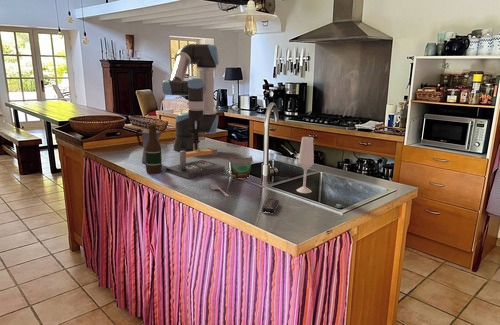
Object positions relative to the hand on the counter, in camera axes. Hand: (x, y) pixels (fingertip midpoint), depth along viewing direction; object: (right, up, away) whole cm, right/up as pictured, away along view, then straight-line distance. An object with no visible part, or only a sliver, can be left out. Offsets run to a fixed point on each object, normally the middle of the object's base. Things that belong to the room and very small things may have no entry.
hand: (196, 155), depth 193 cm
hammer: (+1, -6, -1) cm, 6 cm away
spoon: (+16, -18, -33) cm, 41 cm away
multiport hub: (+36, -22, -48) cm, 64 cm away
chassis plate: (0, -8, 0) cm, 8 cm away
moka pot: (-28, -4, +13) cm, 31 cm away
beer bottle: (-21, -9, -5) cm, 23 cm away
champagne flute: (+52, -16, -26) cm, 61 cm away
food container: (+24, -11, -10) cm, 29 cm away
